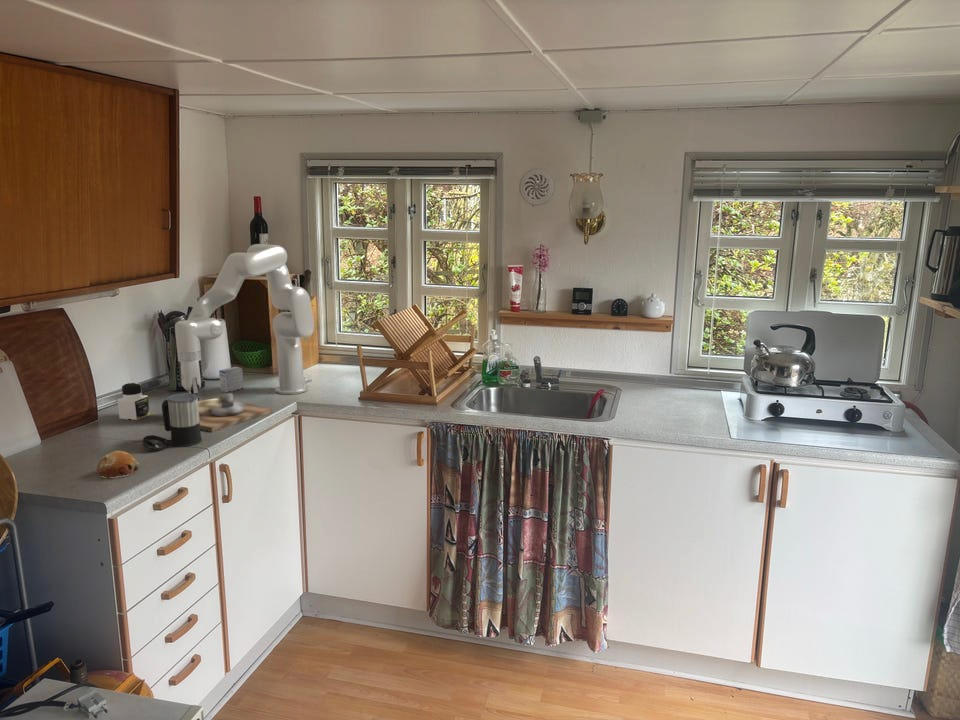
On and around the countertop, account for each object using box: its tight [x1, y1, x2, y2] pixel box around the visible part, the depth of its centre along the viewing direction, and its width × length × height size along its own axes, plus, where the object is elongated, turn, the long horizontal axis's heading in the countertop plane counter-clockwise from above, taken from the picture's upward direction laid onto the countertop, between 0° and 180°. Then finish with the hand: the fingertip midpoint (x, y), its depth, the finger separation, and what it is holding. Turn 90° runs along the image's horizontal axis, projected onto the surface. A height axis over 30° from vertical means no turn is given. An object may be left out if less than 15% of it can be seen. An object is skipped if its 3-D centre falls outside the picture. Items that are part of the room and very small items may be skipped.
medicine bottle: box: [116, 382, 151, 421], centre depth 255 cm, size 7×7×12 cm
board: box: [199, 402, 272, 432], centre depth 255 cm, size 26×22×2 cm
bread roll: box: [96, 450, 140, 477], centre depth 203 cm, size 10×10×8 cm
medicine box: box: [218, 366, 244, 393], centre depth 291 cm, size 8×4×9 cm, turn 144°
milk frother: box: [142, 393, 203, 451], centre depth 224 cm, size 14×16×15 cm
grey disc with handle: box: [198, 392, 245, 416], centre depth 253 cm, size 20×12×6 cm, turn 125°
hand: (194, 407), depth 255 cm, fingers closed
